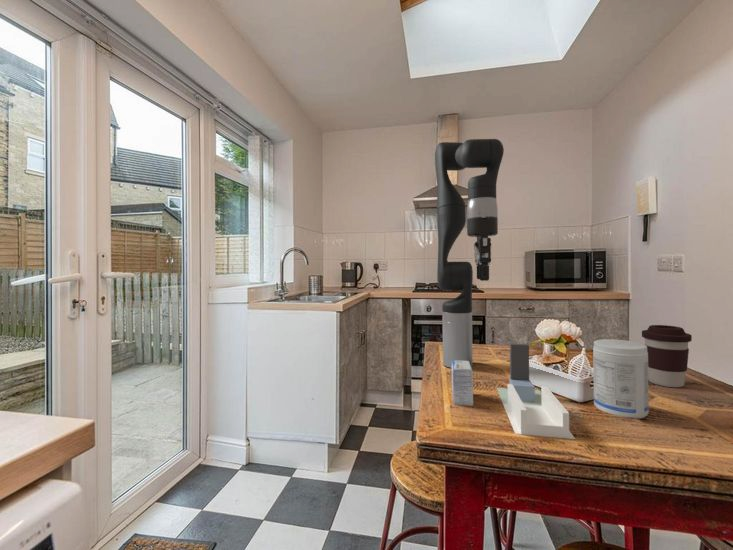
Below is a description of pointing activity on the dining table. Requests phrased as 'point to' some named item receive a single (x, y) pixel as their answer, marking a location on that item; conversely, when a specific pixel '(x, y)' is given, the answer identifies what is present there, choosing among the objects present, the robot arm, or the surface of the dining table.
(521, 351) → the lane block
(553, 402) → the lane fixture
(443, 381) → the dining table surface
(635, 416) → the supplement tub
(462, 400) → the medicine box
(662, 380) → the coffee cup
